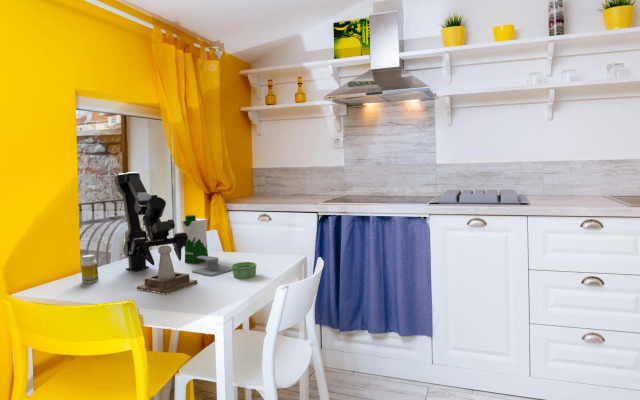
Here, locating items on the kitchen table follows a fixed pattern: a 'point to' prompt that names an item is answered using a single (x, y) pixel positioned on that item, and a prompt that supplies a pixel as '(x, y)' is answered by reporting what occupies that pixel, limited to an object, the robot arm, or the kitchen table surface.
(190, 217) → the milk carton
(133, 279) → the kitchen table surface
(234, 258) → the kitchen table surface
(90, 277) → the supplement bottle
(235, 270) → the ramekin
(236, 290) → the kitchen table surface
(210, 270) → the shower valve
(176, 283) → the collar socket
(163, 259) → the salt shaker
